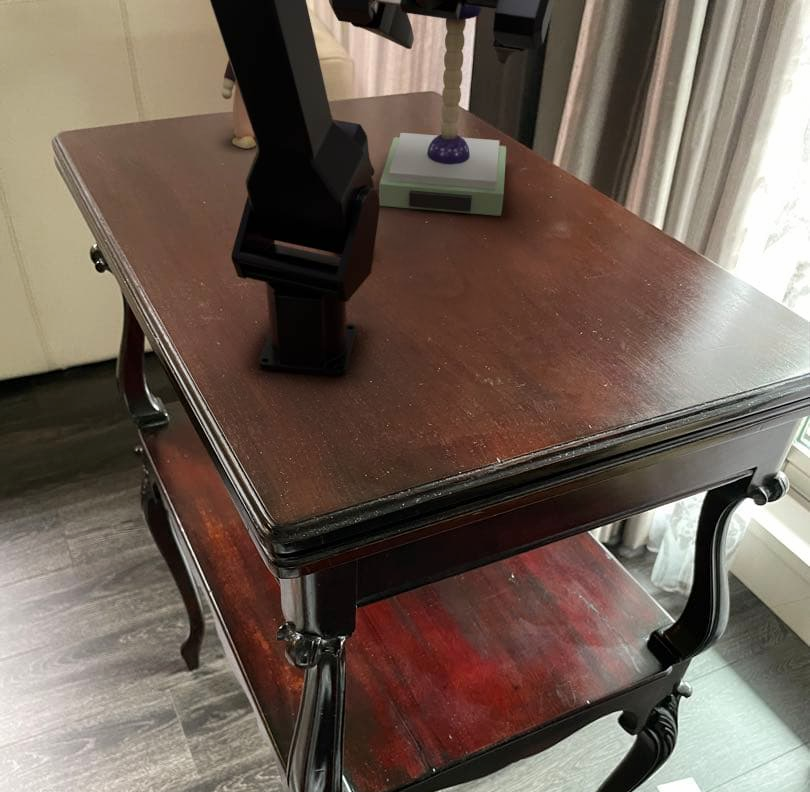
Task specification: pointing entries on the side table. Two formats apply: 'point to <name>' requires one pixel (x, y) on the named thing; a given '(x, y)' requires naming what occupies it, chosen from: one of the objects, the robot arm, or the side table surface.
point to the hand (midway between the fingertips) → (457, 50)
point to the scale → (444, 177)
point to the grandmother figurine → (238, 112)
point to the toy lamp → (452, 93)
